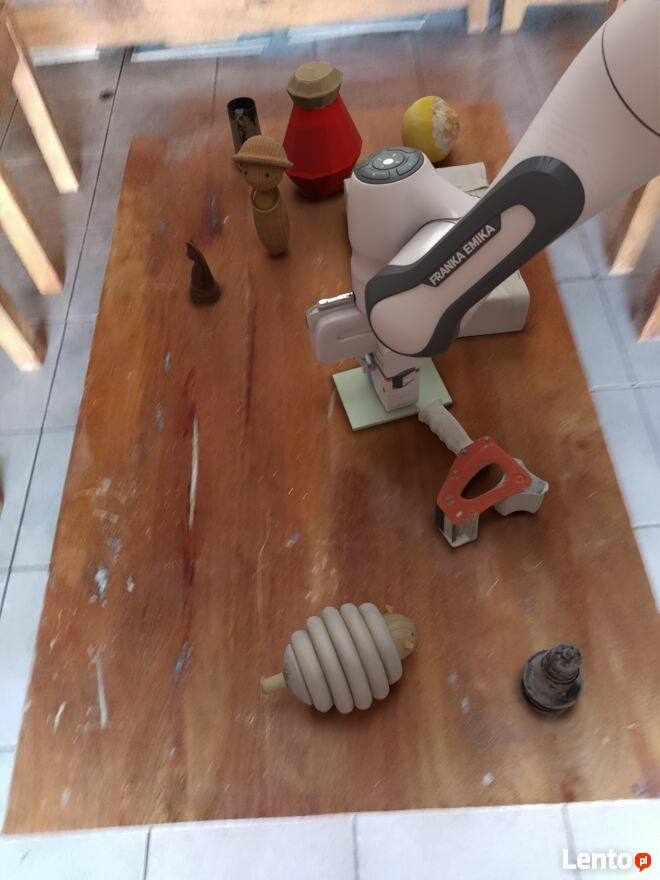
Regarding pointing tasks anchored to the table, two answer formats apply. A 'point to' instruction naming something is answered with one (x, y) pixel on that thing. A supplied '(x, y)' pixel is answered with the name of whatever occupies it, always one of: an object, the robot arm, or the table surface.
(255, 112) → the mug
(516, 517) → the table surface
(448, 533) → the tape dispenser
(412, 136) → the fruit
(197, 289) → the chess piece
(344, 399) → the mat
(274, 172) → the figurine
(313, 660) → the toy sheep
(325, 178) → the bottle
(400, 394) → the ink box
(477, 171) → the box
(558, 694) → the dark grey tiered post
